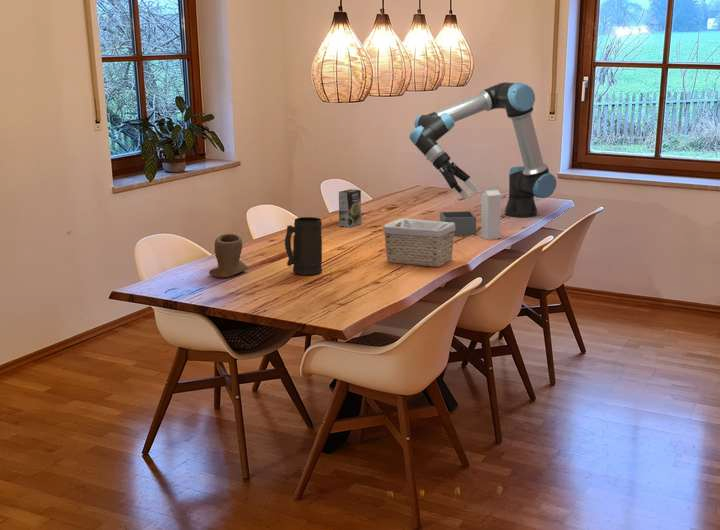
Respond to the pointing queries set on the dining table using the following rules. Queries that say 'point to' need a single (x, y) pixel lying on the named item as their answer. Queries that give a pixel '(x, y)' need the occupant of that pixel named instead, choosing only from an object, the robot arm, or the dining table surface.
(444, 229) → the storage basket
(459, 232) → the tray
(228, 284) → the dining table surface
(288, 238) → the beer stein
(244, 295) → the dining table surface
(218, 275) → the stone cup
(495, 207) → the milk
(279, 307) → the dining table surface
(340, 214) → the coffee box
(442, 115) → the robot arm
